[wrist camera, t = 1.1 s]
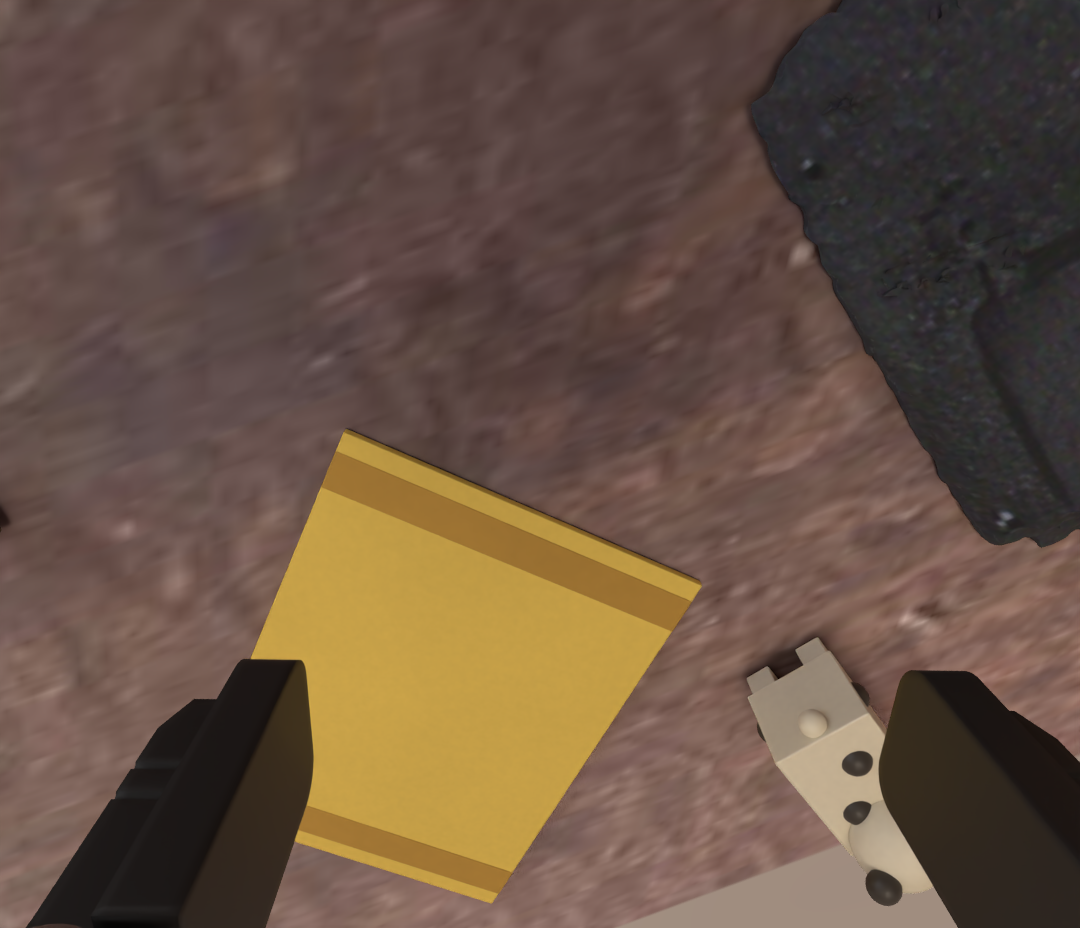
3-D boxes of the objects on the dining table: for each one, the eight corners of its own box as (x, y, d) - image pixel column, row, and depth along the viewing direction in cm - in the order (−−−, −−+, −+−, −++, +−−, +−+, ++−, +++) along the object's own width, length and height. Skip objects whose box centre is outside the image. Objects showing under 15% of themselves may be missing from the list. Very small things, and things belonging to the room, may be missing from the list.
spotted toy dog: (722, 665, 31) (780, 814, 24) (813, 612, 30) (902, 749, 23) (820, 787, 34) (898, 952, 27) (906, 741, 33) (1011, 900, 26)
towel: (346, 428, 26) (343, 432, 26) (700, 580, 29) (702, 586, 29) (192, 801, 33) (188, 809, 33) (492, 896, 36) (491, 905, 35)
